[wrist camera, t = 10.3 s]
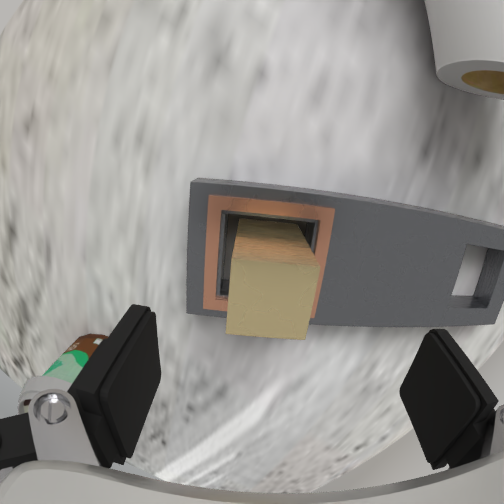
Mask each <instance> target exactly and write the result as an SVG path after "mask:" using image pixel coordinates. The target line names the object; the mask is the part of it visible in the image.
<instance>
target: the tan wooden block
mask: <svg viewBox="0 0 504 504" xmlns="http://www.w3.org/2000/svg"><path fill="white" fill-rule="evenodd" d="M319 272H320V265H319V263H318V261H317V260H316V258H315V256H314V254H313V252H312V250H311V248H310V247H309V245H308V243H307V241H306V239H305V237H304V236H303V234H302V232H301V230H300V228H299V227H298V225H297V224H292V223H283V222H274V221H264V220H254V219H244V218H240V219H239V224H238V229H237V234H236V239H235V244H234V249H233V254H232V259H231V271H230V284H229V297H228V310H227V323H226V334H233V335H244V336H255V337H268V338H282V339H299V340H305V338H306V333H307V329H308V325H309V320H310V316H311V311H312V306H313V302H314V297H315V292H316V287H317V282H318V277H319Z"/></svg>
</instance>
